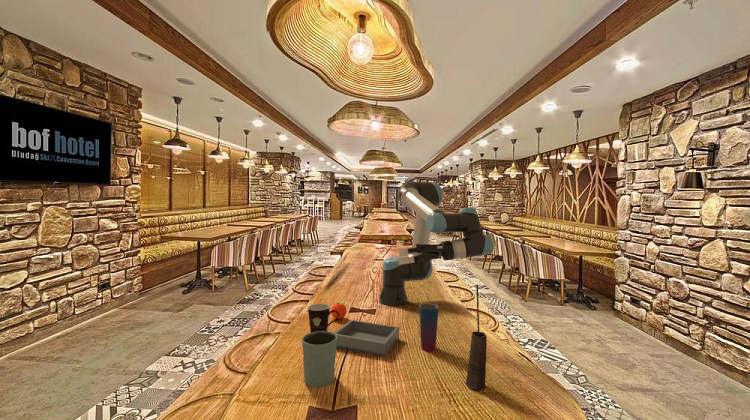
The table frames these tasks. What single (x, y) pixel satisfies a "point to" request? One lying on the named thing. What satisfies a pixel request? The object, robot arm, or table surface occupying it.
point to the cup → (428, 326)
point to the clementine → (339, 310)
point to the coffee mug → (319, 317)
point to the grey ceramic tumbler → (319, 358)
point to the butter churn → (477, 357)
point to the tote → (367, 337)
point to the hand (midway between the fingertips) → (398, 257)
